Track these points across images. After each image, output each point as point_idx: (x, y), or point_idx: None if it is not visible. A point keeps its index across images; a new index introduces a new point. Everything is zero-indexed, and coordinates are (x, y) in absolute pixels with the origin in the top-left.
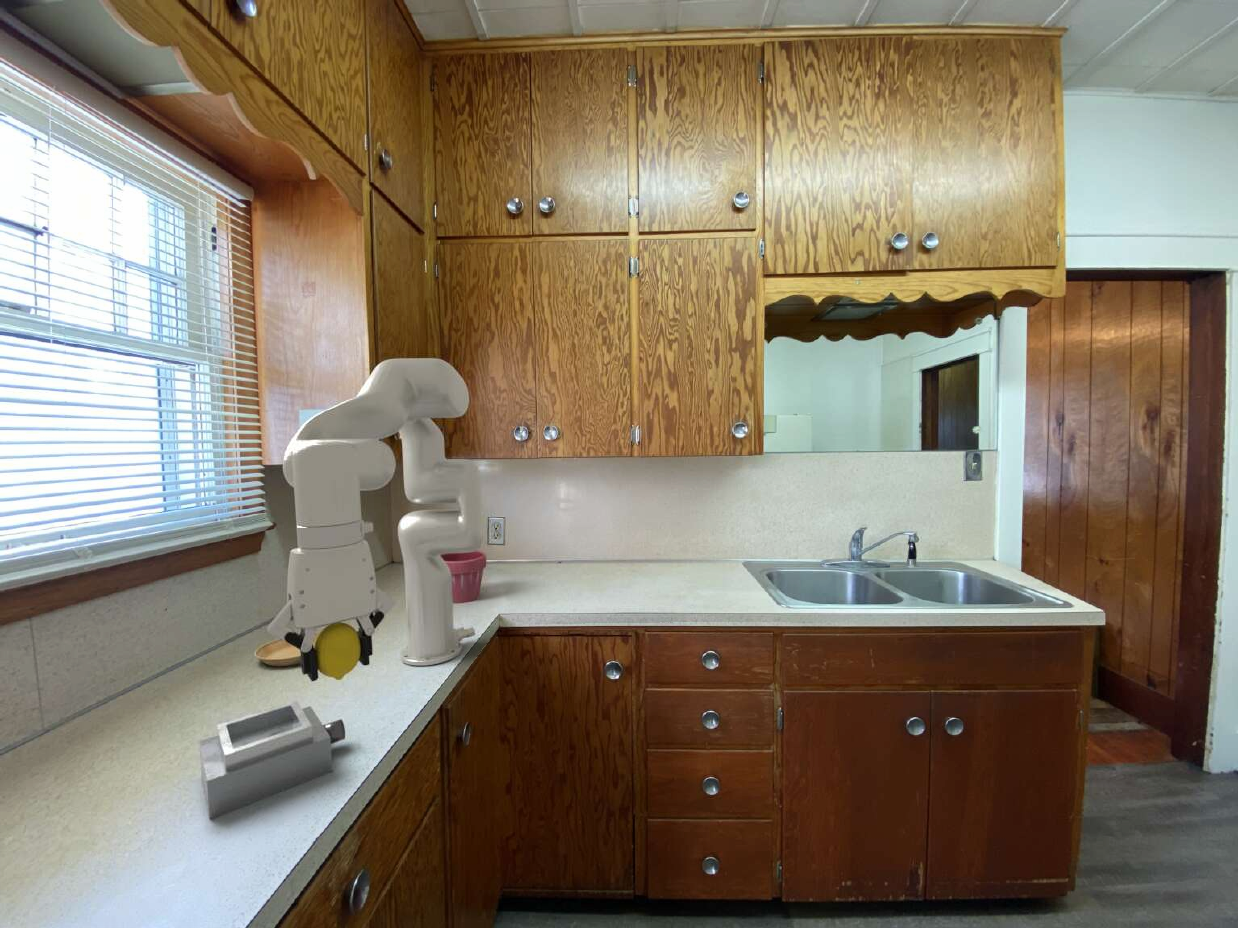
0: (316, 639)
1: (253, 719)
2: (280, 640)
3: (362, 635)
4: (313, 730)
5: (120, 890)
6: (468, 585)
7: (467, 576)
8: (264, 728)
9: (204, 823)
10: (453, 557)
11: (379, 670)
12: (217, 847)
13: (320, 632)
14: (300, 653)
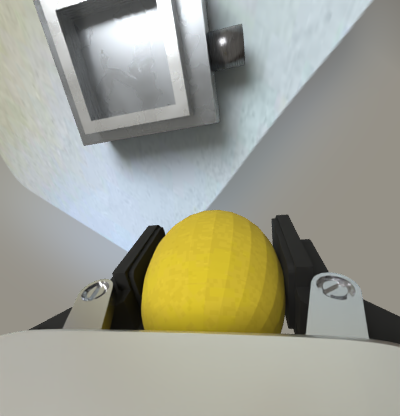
0: (141, 313)
1: (95, 1)
2: None
3: (297, 323)
4: (195, 81)
5: (73, 197)
6: None
7: None
8: (122, 15)
9: (106, 144)
10: None
11: None
12: (125, 189)
13: (147, 327)
14: (112, 277)
